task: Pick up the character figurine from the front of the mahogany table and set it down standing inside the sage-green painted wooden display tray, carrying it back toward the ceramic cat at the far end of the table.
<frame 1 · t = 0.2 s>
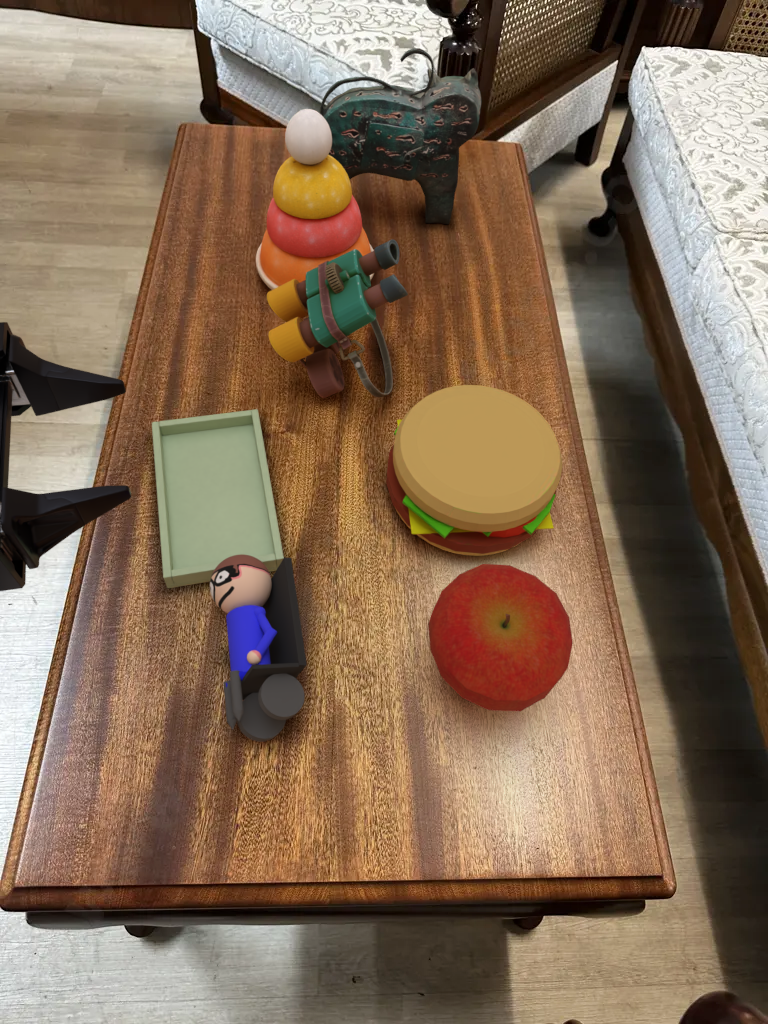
hand: (127, 436, 50), 18 cm above the table, tool horizontal, fingers open, 9 cm apart
binoculars: (332, 372, 79), on the table
character figurine: (261, 657, 61), on the table
stacking toy: (316, 274, 87), on the table
apple: (479, 672, 62), on the table
tray: (217, 498, 69), on the table
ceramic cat: (386, 215, 94), on the table
hamburger: (465, 493, 72), on the table
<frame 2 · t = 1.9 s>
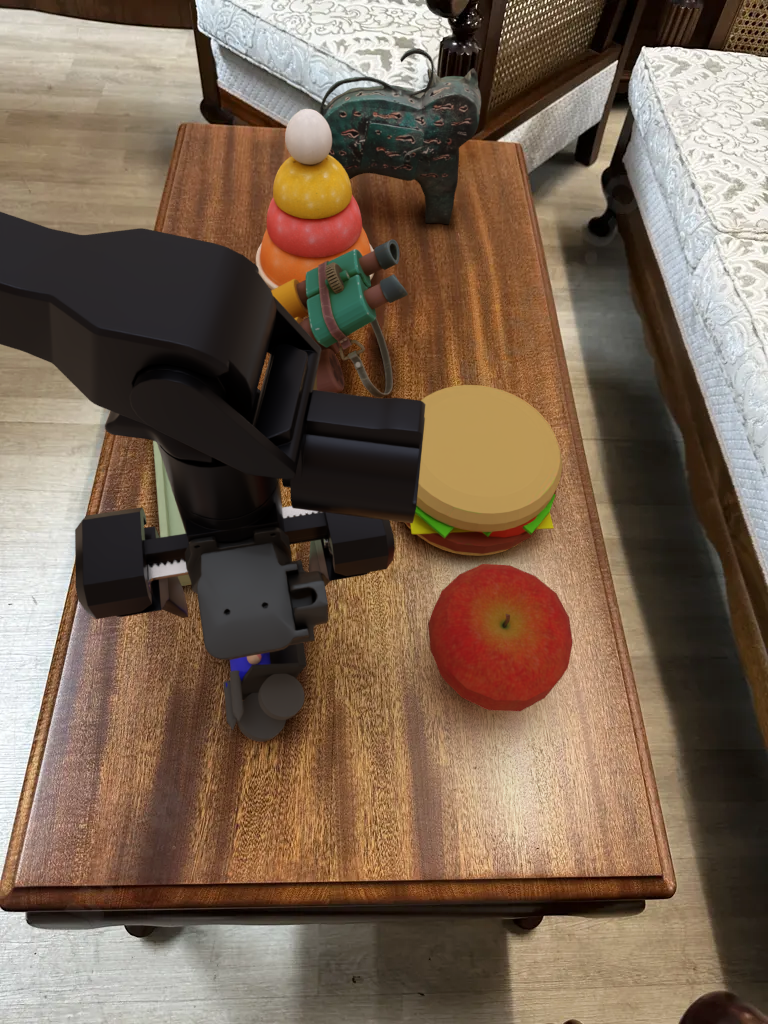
hand: (250, 599, 52), 11 cm above the table, tool pointing down, fingers open, 9 cm apart
nothing on the table moved.
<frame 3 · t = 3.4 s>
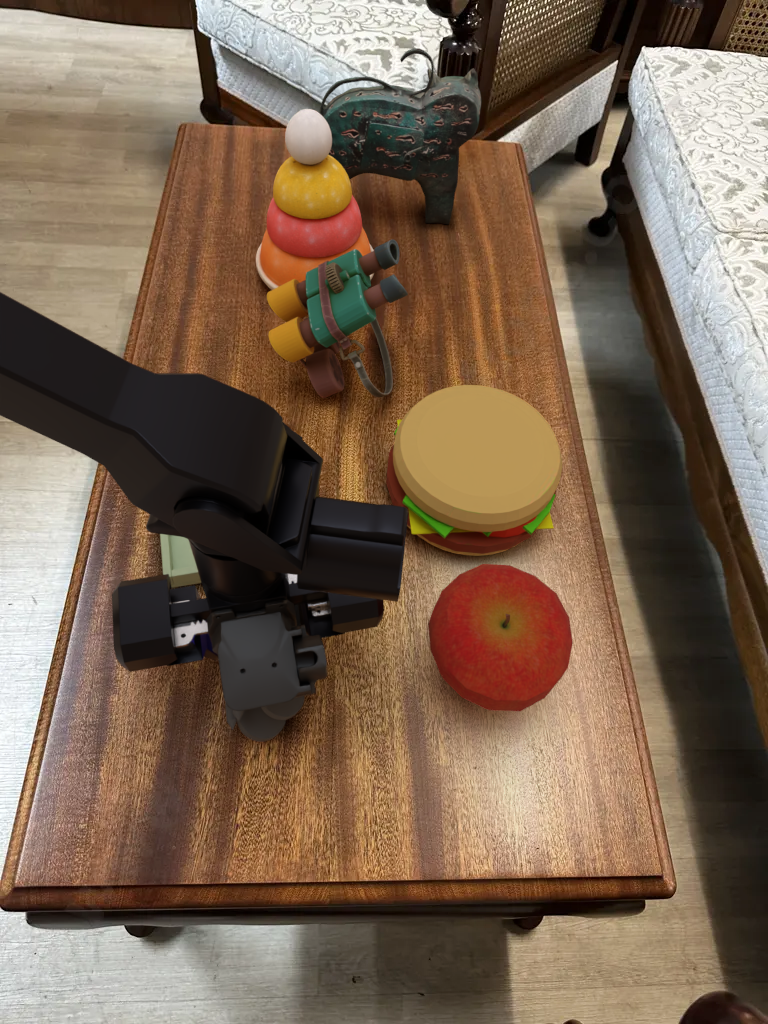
hand: (258, 647, 59), 2 cm above the table, tool pointing down, fingers closed on character figurine, 6 cm apart
character figurine: (261, 657, 61), on the table, touching gripper
everything else where it was.
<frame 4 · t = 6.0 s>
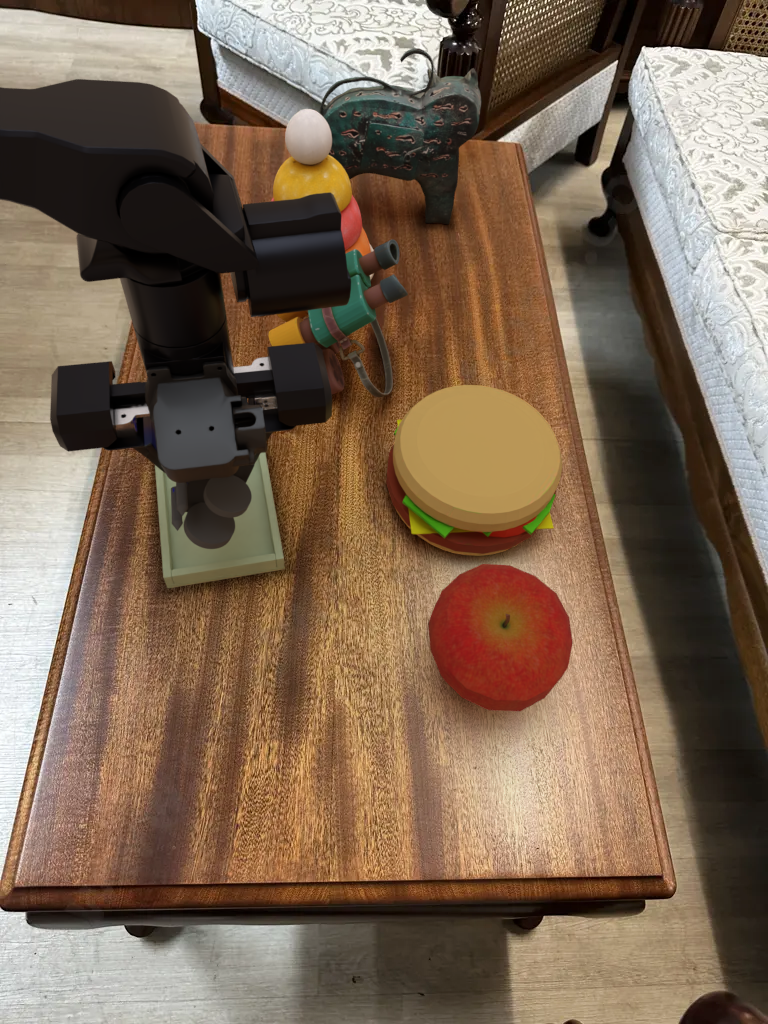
hand: (210, 463, 58), 11 cm above the table, tool pointing down, fingers closed on character figurine, 6 cm apart
character figurine: (214, 479, 60), point 9 cm above the table, touching gripper
everything else where it was.
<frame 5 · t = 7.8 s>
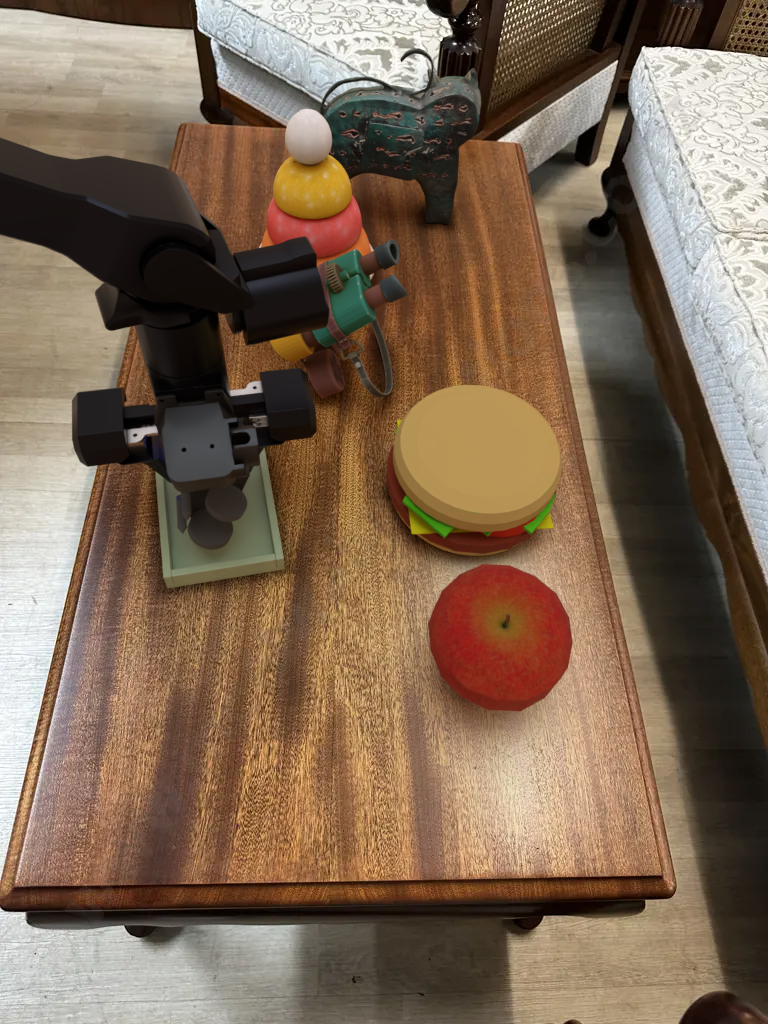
hand: (210, 474, 65), 4 cm above the table, tool pointing down, fingers closed on character figurine, 6 cm apart
character figurine: (213, 487, 67), point 2 cm above the table, touching gripper
everything else where it was.
when the fingers open (3 cm above the table, at t = 8.9 s): character figurine stays where it is, resting on tray.
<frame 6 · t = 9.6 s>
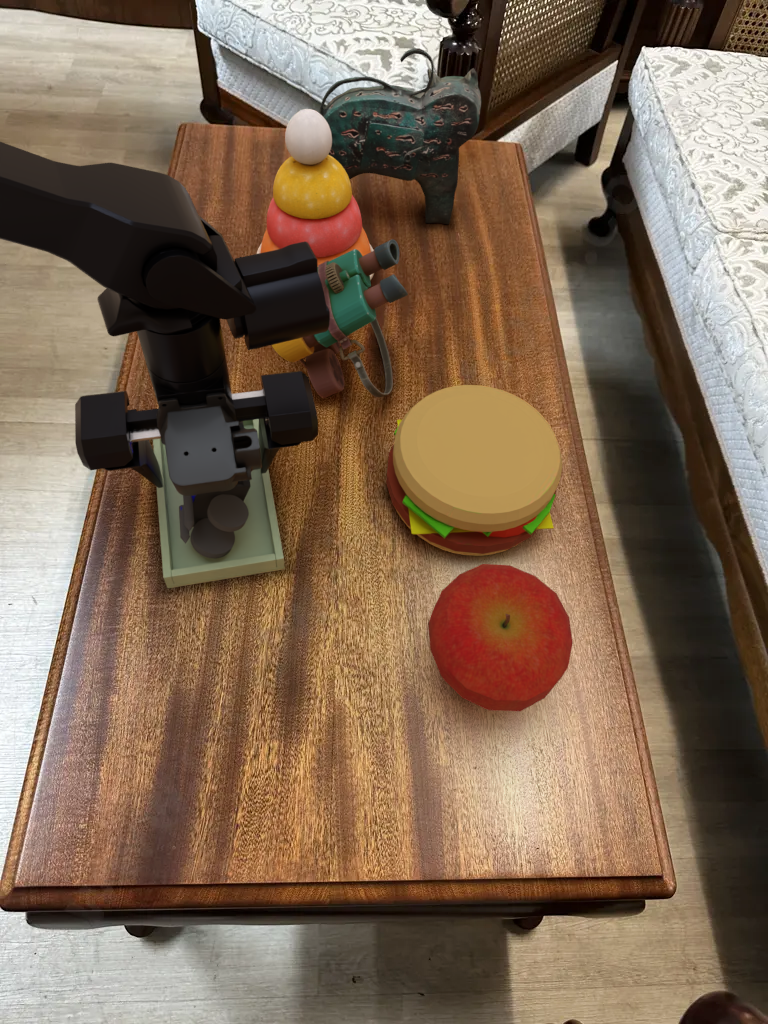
hand: (212, 476, 66), 4 cm above the table, tool pointing down, fingers open, 9 cm apart
character figurine: (215, 497, 68), resting on tray
everything else where it was.
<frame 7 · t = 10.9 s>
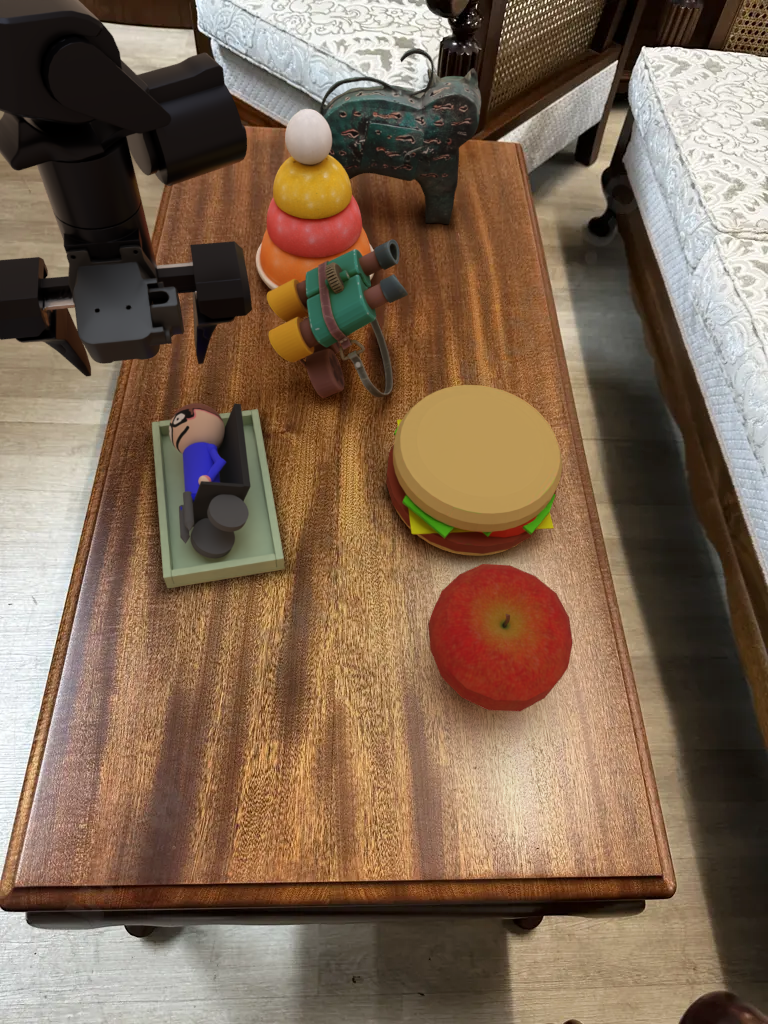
hand: (145, 366, 61), 12 cm above the table, tool pointing down, fingers open, 9 cm apart
nothing on the table moved.
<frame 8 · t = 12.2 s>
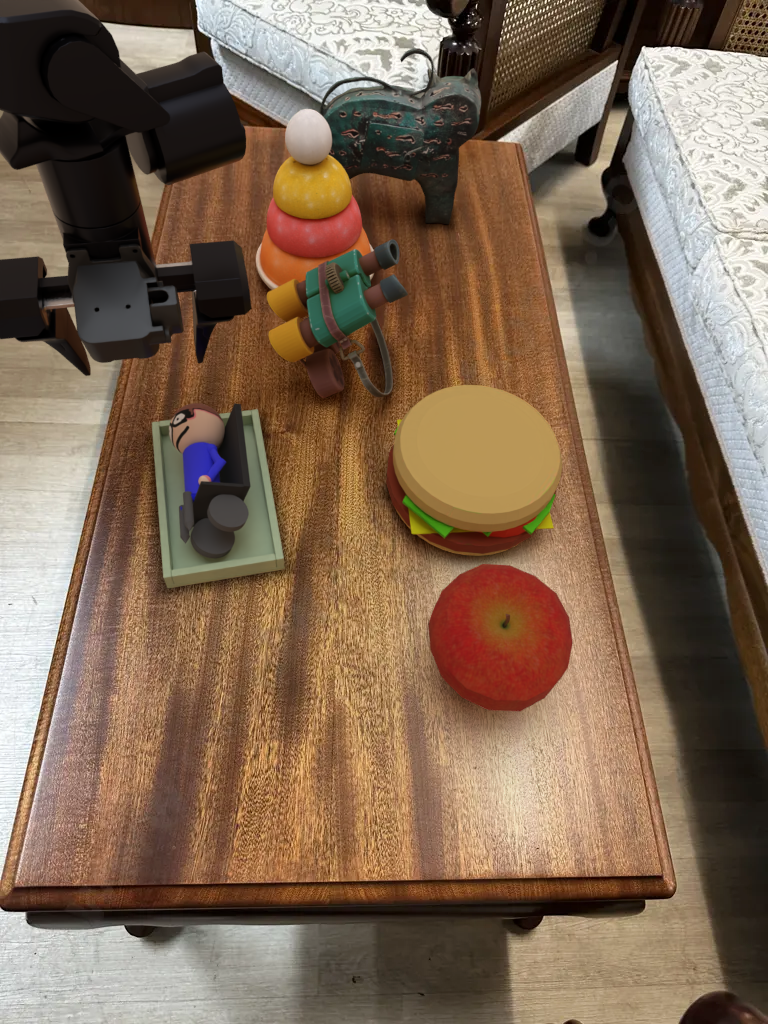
hand: (144, 365, 61), 12 cm above the table, tool pointing down, fingers open, 9 cm apart
nothing on the table moved.
at the end: character figurine 0.1 cm off-centre in the tray, point 0.4 cm above the tray's base; character figurine 48.2 cm from the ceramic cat (horizontally) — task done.
